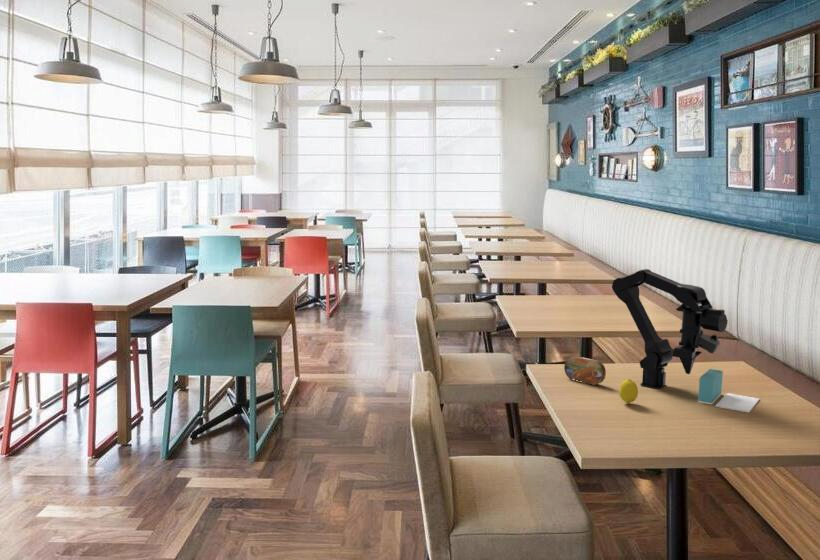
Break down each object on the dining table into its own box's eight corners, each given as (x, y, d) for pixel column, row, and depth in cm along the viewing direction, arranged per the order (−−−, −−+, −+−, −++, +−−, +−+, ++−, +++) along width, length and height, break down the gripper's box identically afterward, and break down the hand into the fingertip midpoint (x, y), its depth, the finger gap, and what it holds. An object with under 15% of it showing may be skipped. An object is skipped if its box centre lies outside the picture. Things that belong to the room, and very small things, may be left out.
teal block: (698, 402, 224) (699, 377, 223) (708, 392, 233) (709, 368, 232) (711, 404, 221) (713, 379, 220) (721, 394, 231) (722, 370, 230)
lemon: (638, 402, 223) (639, 377, 222) (635, 407, 218) (637, 382, 217) (620, 400, 225) (621, 375, 224) (617, 405, 220) (618, 380, 219)
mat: (715, 406, 219) (715, 405, 219) (727, 394, 231) (727, 393, 231) (749, 412, 214) (749, 411, 214) (759, 399, 226) (759, 398, 226)
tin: (563, 378, 249) (564, 354, 248) (568, 376, 251) (569, 353, 250) (601, 387, 238) (602, 363, 237) (606, 385, 240) (607, 361, 239)
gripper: (710, 335, 216) (706, 385, 218) (725, 324, 231) (721, 371, 233) (672, 330, 222) (669, 378, 225) (689, 320, 237) (686, 365, 240)
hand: (688, 373), depth 230 cm, fingers closed
